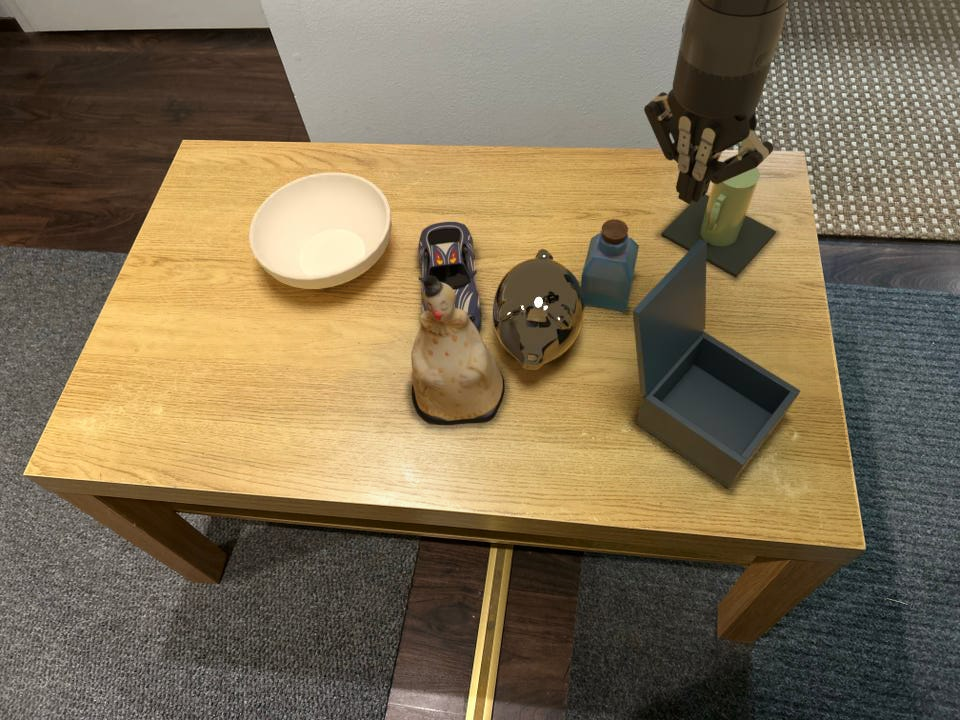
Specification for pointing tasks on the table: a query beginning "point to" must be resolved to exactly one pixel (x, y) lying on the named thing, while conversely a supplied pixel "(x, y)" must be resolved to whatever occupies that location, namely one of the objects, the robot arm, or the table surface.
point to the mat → (726, 257)
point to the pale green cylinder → (728, 208)
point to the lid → (671, 317)
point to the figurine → (452, 364)
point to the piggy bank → (538, 310)
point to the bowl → (321, 230)
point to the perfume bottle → (609, 267)
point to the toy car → (451, 264)
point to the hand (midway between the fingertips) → (689, 197)
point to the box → (715, 408)
